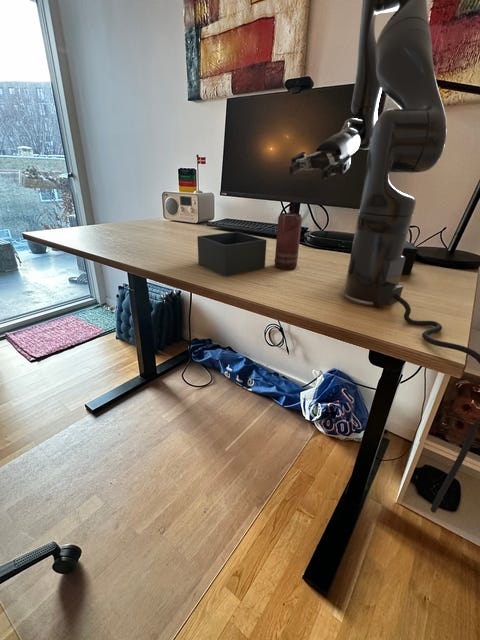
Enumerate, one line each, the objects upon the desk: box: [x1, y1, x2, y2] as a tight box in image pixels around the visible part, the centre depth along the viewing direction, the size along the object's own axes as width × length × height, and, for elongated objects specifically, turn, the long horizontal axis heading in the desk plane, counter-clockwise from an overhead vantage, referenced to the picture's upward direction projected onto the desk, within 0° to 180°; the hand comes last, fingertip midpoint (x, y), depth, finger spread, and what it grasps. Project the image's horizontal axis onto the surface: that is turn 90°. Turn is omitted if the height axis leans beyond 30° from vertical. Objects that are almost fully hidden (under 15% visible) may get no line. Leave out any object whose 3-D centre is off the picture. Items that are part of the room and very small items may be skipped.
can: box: [274, 212, 303, 271], centre depth 80 cm, size 6×6×14 cm
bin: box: [196, 231, 268, 277], centre depth 81 cm, size 13×13×8 cm
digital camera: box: [401, 240, 419, 276], centre depth 82 cm, size 10×5×7 cm, turn 168°
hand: (306, 173), depth 73 cm, fingers open, 8 cm apart
